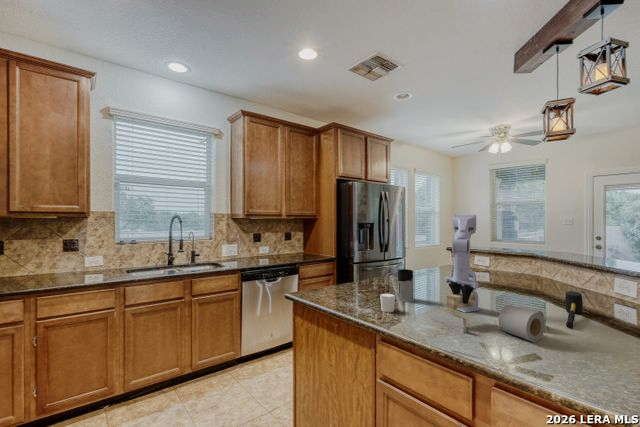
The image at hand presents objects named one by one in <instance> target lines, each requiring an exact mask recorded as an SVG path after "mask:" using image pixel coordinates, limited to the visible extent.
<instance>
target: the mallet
mask: <svg viewBox="0 0 640 427" xmlns="http://www.w3.org/2000/svg"><path fill="white" fill-rule="evenodd" d="M564 298H565V299H564V301H565V302H564V303H565V304H564V305H565V306H564V307H565V311H566V313H567V320H566V323H565V326H566V328H567V329H570V330H571V329H573V328H574V322H575V318H576V315H582V313H583V306H584V305H583V304H584V303H583V295H582V293H580V292H578V291H575V290H574V291H573V290H568V291H565V296H564Z"/></svg>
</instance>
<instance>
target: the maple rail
mask: <svg viewBox="0 0 640 427" xmlns="http://www.w3.org/2000/svg"><path fill="white" fill-rule="evenodd" d="M470 306H475V294H471V295H470V298H469V301H468V303H467V304H463V298H462V294H455V295H453V294H450V295H446V307H447V308H449V309H452V310H457V309H459V308H464V307H470Z"/></svg>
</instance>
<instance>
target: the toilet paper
mask: <svg viewBox="0 0 640 427" xmlns="http://www.w3.org/2000/svg"><path fill="white" fill-rule="evenodd" d="M498 325H499V327H500V329H501V331H503V332H505V333H507V334H510V335H513V336H517V337H519V338H521V339H524V340H526V341H528V342H532V343H536V342H538V341H540V340H541V338H542V336H543V335H544V333H545V326H546V324H545V318H543V316H542V315H541V314H540V313H537V312H533V311H529V310H526V309H522V308H519V307H517V306H515V305H511V304H506V305H504V306H503V307H502V308H501V310H500V312H499V315H498Z"/></svg>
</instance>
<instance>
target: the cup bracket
mask: <svg viewBox="0 0 640 427" xmlns="http://www.w3.org/2000/svg"><path fill="white" fill-rule="evenodd" d="M430 309H431V311H430V312H431V314H430V316H431V318H430V319H431V320H432V321H434V322H435V323H439V324H441V325H443V326H446V327H449V328H451V329H453V330H456V331H458V332H461V333H463V334H465V333H466V332H467V319H466V318H465V317H461V316H459V315H456V314H453V313H450V312H448V311H445V310H442V309H439V308H437V307H435V306H434V307H430Z"/></svg>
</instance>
